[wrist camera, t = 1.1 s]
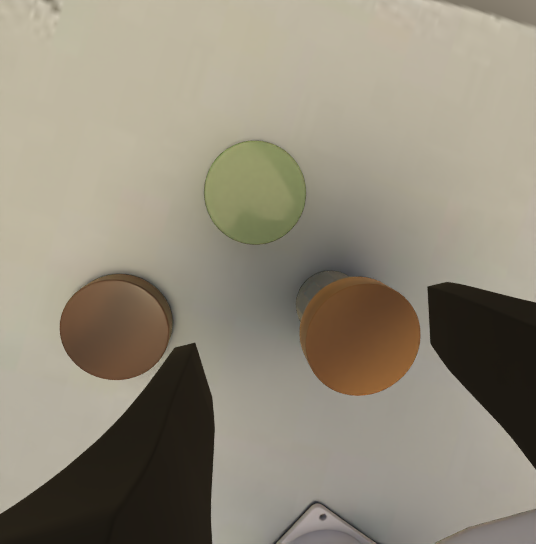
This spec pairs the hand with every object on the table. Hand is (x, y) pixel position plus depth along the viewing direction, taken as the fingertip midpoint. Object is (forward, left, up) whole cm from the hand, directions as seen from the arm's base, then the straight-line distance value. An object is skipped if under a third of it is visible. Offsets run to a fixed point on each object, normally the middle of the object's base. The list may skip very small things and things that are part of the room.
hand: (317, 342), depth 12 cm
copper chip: (-4, -1, -8) cm, 9 cm away
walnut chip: (+5, +8, -13) cm, 16 cm away
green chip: (+4, -3, -13) cm, 13 cm away
